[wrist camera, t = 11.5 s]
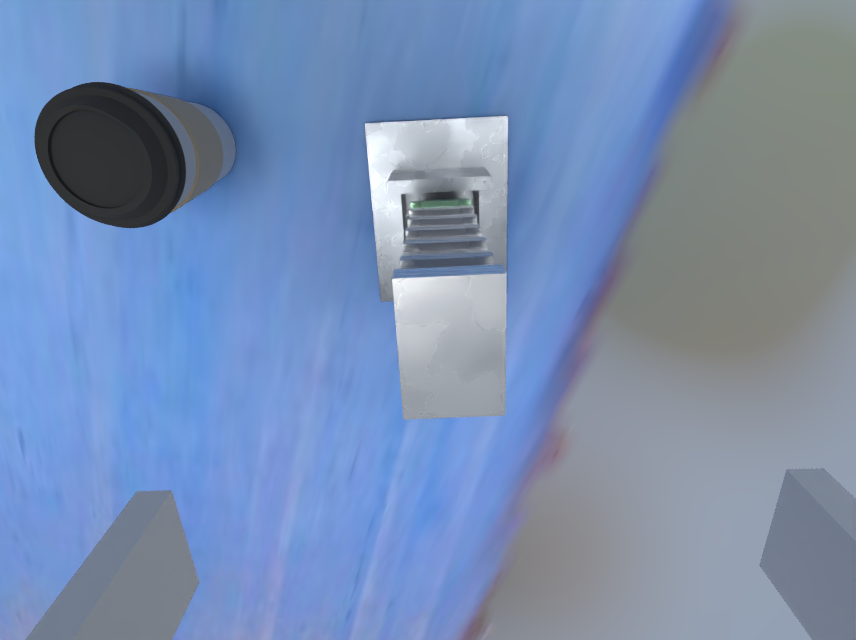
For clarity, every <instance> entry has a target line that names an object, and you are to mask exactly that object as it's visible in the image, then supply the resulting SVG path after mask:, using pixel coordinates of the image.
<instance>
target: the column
mask: <svg viewBox="0 0 856 640" xmlns="http://www.w3.org/2000/svg"><path fill="white" fill-rule="evenodd" d="M409 215H410V217H409V218H408V220H407V221H408V228H406V230H405V234H406V239H405V241H403V256H400V269H394V272H393V277H392V284H393V296H394V309H395V321H396V334H397V346H398V359H399V371H400V383H401V396H402V408H403V419H425V418H450V417H475V416H501V415H505V394H506V297H507V273H506V271H505V268H504V266H503V264H499V265H493V254H492V252H488V249H487V239H486V237H483V236H482V227H481V225H478V223H477V215H476V214H474V208H473V206H471V202H470V198H464V199H444V200H424V201H411V209H409Z"/></svg>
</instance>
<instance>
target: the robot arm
mask: <svg viewBox="0 0 856 640" xmlns="http://www.w3.org/2000/svg"><path fill="white" fill-rule="evenodd" d="M760 567H761V568H762V569H763V571H764V572H765V574H766V575H767V577H768V578H769V579H770V581H771V582H772V583H773V585H774V586H775V588H776V589H777V590H778V592H779V593H780V595H781V596H782V598H783V599H784V601H785V602H786V603H787V605H788V606H789V607H790V609H791V610H792V612H793V613H794V615H795V616H796V617H797V619H798V620H799V622H800V623H801V624H802V626H803V627H804V629H805V630H806V632H807V633H808V634H809V636H810V637H811V639H812V640H856V498H855V497H853V496H852V495H851V494H850V493H849V492H848V491H847V490H846V489H845V488H844V487H843V486H842V485H841V484H840V483H839V482H837V481H836V480H835V479H834V478H833V477H832V476H831V475H830V474H829V473H828V472H827V471H826V470H825V469H823V468H819V469H791V470H786V473H785V477H784V481H783V484H782V488H781V491H780V495H779V498H778V502H777V505H776V509H775V513H774V516H773V519H772V523H771V527H770V530H769V534H768V537H767V541H766V544H765V548H764V551H763V555H762V558H761V562H760ZM198 584H199V579H198V576H197V572H196V569H195V566H194V562H193V559H192V556H191V553H190V549H189V546H188V543H187V539H186V536H185V533H184V530H183V526H182V523H181V520H180V516H179V513H178V510H177V507H176V503H175V500H174V497H173V493H172V490H167V491H137V492H136V493H135V494H134V496H133V497H132V498H131V500H130V501H129V502H128V504H127V505H126V506H125V508H124V509H123V510H122V512H121V513H120V514H119V516H118V517H117V518H116V520H115V521H114V522H113V524H112V525H111V526H110V528H109V529H108V530H107V532H106V533H105V534H104V536H103V537H102V538H101V540H100V541H99V542H98V544H97V545H96V546H95V548H94V549H93V550H92V552H91V553H90V554H89V556H88V557H87V558H86V560H85V561H84V562H83V564H82V565H81V566H80V568H79V569H78V570H77V572H76V573H75V574H74V576H73V577H72V578H71V580H70V581H69V582H68V584H67V585H66V586H65V588H64V589H63V590H62V592H61V593H60V594H59V596H58V597H57V598H56V600H55V601H54V602H53V604H52V605H51V607H50V608H49V609H48V611H47V612H46V613H45V615H44V616H43V617H42V619H41V620H40V621H39V623H38V624H37V625H36V627H35V628H34V629H33V631H32V632H31V633H30V635H29V636H28V637H27V639H26V640H172V639H173V636H174V634H175V632H176V630H177V628H178V626H179V624H180V622H181V620H182V618H183V616H184V613H185V611H186V609H187V607H188V605H189V603H190V601H191V599H192V597H193V595H194V592H195V590H196V588H197V586H198Z"/></svg>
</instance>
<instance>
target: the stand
mask: <svg viewBox="0 0 856 640" xmlns="http://www.w3.org/2000/svg"><path fill="white" fill-rule="evenodd" d="M365 131H366V142H367V153H368V164H369V175H370V186H371V197H372V208H373V219H374V230H375V241H376V252H377V263H378V274H379V285H380V296H381V302H383V301H394V296H393V284H392V277H393V272H394V269H400V256H403V241H405V239H406V234H405V230H406V228H408V221H407V220H408V218H409V217H410V215H409V209H411V201H424V200H444V199H464V198H470V202H471V206H473V208H474V214H476V215H477V223H478V225H481V227H482V236H483V237H486V239H487V249H488V252H492V254H493V265H499V264H503V266H504V268H505V271H506V273H507V181H508V116H489V117H471V118H452V119H433V120H414V121H395V122H376V123H365Z"/></svg>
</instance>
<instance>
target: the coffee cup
mask: <svg viewBox="0 0 856 640" xmlns="http://www.w3.org/2000/svg"><path fill="white" fill-rule="evenodd" d="M35 149H36V154H37V158H38V161H39V164H40V167H41V169H42V171H43V173H44V175H45V177H46V179H47V180H48V182H49V183H50V185H51V186H52V187H53V189H54V190H55V191H56V192H57V194H58V195H59V196H60V197H61V198H62V199H63V200H64V201H65V202H66V203H68V204H69V205H70V206H71V207H72V208H74V209H75V210H77V211H78V212H80V213H81V214H83V215H85V216H87V217H89V218H91V219H93V220H95V221H98V222H101V223H104V224H108V225H112V226H117V227H123V228H139V227H145V226H148V225H151V224H154V223H156V222H158V221H160V220H162V219H163V218H165V217H166V216H167V215H168V214H169V213H171V212H173V211H175V210H177V209H178V208H180V207H181V206H183V205H185V204H186V203H188V202H189V201H191V200H192V199H194V198H195V197H197V196H198V195H200V194H202V193H203V192H205V191H206V190H208V189H209V188H210V187H211V186H212V185H213V184H214V183H215V182H217V181H219V180H220V179H222V178H223V177H224V176H226V175H227V174H228V172H229V171H230V170H231V168H232V166H233V164H234V161H235V155H236V146H235V140H234V137H233V134H232V132H231V130H230V128H229V126H228V125H227V123H226V122H225V121H224V120H223V118H222V117H221V116H220V115H218V114H217V113H216V112H215V111H213V110H212V109H210V108H208V107H206V106H204V105H201V104H197V103H192V102H187V101H183V100H181V99H177V98H173V97H169V96H164V95H160V94H155V93H151V92H146V91H142V90H137V89H132V88H125V87H122V86H119V85H116V84H111V83H104V82H92V83H85V84H81V85H78V86H75V87H73V88H71V89H68V90H65V91H63V92H61V93H59V94H57V95H56V96H54V97H53V98H52V99H51V100H50V101H49V102H48V103H47V104H46V105H45V106H44V108H43V109H42V111H41V113H40V115H39V117H38V120H37V123H36V128H35Z"/></svg>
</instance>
